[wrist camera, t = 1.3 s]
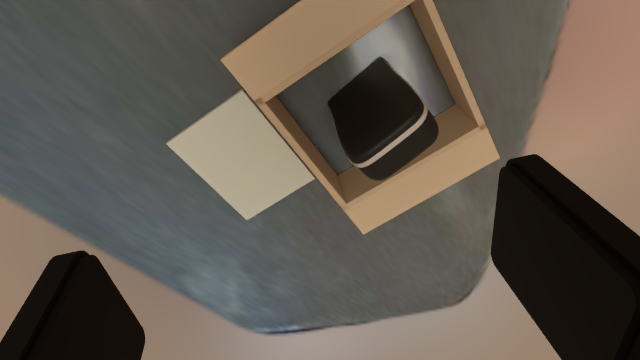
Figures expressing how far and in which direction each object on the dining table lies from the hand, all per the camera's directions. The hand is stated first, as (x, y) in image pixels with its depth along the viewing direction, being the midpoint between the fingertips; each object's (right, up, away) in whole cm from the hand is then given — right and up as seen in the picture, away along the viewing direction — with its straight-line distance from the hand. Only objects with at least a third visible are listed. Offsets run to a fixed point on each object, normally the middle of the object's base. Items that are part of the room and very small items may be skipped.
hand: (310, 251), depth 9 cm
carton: (+4, +10, +28) cm, 31 cm away
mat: (-7, +4, +31) cm, 32 cm away
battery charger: (+4, +10, +29) cm, 31 cm away
